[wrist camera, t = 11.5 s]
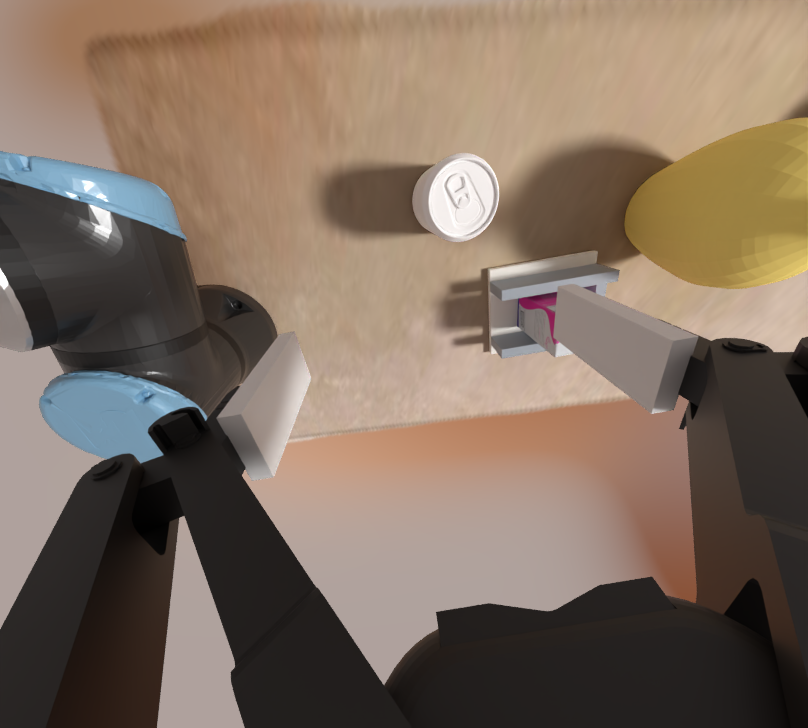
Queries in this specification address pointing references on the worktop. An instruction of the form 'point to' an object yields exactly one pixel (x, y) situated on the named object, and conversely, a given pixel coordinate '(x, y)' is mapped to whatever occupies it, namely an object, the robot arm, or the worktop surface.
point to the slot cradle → (536, 281)
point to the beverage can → (456, 197)
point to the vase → (729, 210)
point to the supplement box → (540, 321)
